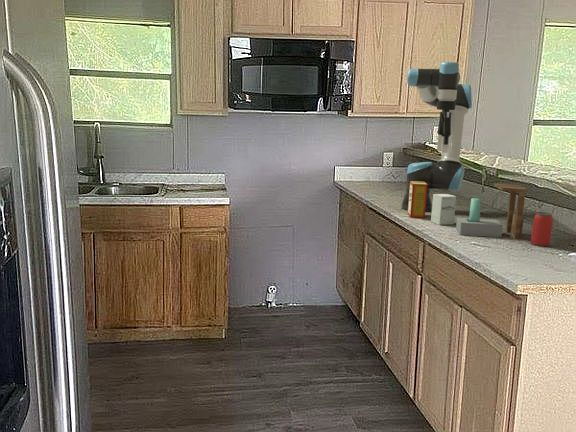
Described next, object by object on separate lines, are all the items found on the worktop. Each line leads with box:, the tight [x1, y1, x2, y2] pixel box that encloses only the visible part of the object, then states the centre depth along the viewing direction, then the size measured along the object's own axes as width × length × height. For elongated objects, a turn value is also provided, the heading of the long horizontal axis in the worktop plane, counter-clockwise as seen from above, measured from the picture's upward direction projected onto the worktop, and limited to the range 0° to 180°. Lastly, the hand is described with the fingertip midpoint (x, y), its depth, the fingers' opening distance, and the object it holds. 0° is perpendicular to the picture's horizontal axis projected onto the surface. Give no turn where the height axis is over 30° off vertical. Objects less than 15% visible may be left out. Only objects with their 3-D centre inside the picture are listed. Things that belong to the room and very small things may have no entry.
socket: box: [455, 217, 504, 238], centre depth 226 cm, size 10×16×5 cm, turn 82°
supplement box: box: [430, 193, 457, 226], centre depth 243 cm, size 7×7×13 cm
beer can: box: [530, 211, 554, 247], centre depth 209 cm, size 7×7×12 cm
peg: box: [468, 197, 482, 222], centre depth 225 cm, size 4×4×14 cm
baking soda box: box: [407, 181, 428, 219], centre depth 257 cm, size 10×6×16 cm
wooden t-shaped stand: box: [493, 182, 528, 240], centre depth 223 cm, size 14×9×20 cm, turn 173°
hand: (442, 151), depth 236 cm, fingers open, 13 cm apart
